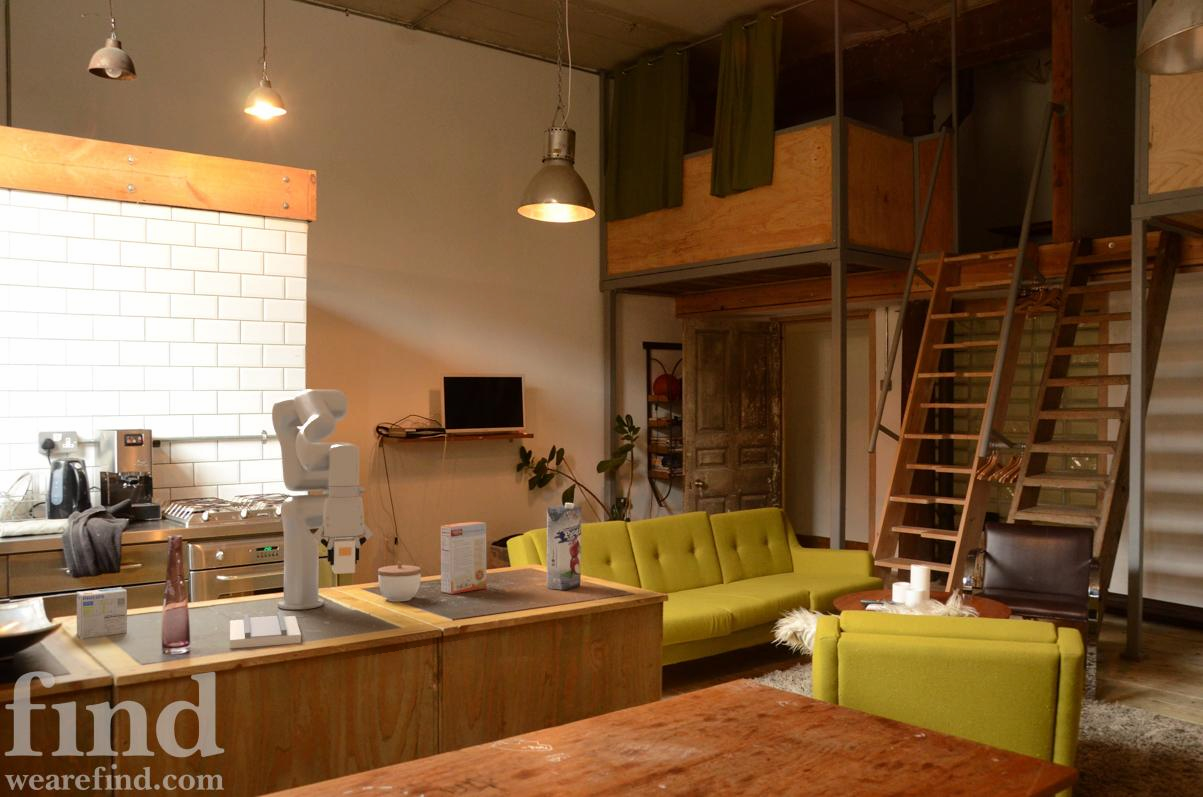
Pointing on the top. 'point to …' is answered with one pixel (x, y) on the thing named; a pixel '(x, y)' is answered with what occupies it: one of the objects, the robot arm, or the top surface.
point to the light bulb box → (101, 612)
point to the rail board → (264, 631)
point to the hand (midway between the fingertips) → (343, 563)
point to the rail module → (344, 555)
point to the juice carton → (563, 547)
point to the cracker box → (463, 557)
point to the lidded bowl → (399, 581)
